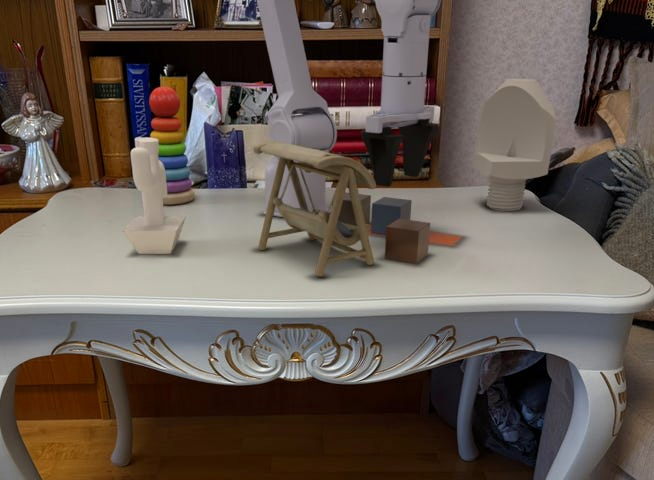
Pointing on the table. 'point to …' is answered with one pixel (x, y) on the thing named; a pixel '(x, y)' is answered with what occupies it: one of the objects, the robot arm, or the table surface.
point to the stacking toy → (171, 145)
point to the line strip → (436, 238)
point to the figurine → (151, 202)
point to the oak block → (348, 213)
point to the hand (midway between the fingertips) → (397, 180)
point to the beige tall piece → (514, 140)
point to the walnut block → (407, 241)
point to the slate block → (388, 213)
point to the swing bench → (315, 221)
